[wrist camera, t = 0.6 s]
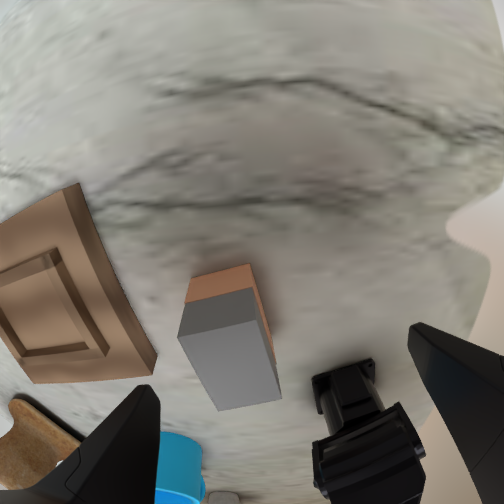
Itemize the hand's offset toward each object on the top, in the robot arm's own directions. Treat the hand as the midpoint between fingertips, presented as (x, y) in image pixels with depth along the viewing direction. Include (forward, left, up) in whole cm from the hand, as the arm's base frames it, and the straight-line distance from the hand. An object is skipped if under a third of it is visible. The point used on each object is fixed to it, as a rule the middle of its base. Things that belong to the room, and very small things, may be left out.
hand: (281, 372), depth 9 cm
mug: (-26, +17, -13) cm, 34 cm away
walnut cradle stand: (0, +19, -13) cm, 23 cm away
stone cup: (-20, +37, -13) cm, 44 cm away
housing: (-5, +3, -13) cm, 14 cm away
